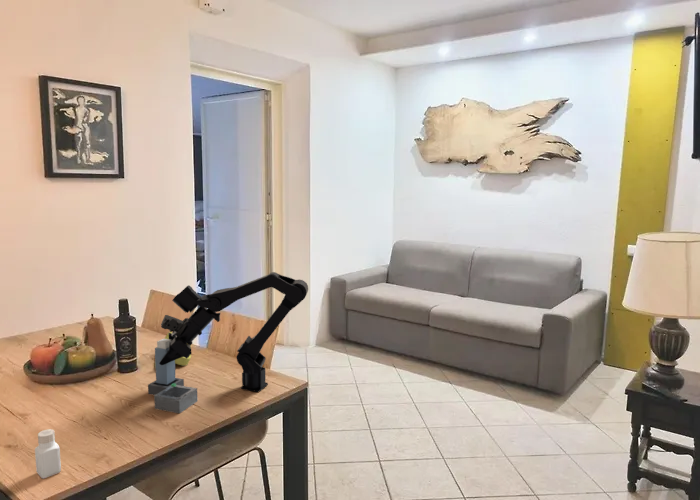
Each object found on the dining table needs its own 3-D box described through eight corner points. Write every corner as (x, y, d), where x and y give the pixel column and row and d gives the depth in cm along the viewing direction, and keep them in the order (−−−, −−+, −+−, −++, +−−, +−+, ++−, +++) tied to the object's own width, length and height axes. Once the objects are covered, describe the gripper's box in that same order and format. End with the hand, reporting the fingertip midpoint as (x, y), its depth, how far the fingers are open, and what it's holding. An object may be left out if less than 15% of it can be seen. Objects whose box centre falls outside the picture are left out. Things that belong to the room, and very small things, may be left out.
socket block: (197, 401, 148) (197, 387, 147) (179, 413, 140) (179, 398, 140) (173, 397, 151) (173, 383, 150) (154, 408, 143) (154, 394, 142)
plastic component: (190, 360, 175) (163, 350, 172) (181, 378, 176) (153, 369, 172) (191, 338, 194) (166, 329, 190) (182, 355, 194) (157, 347, 191)
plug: (175, 379, 156) (174, 339, 154) (167, 384, 152) (165, 343, 150) (164, 377, 157) (163, 337, 155) (156, 382, 153) (154, 341, 151)
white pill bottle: (41, 480, 108) (38, 439, 107) (35, 473, 111) (32, 432, 110) (62, 472, 111) (59, 432, 110) (55, 465, 114) (52, 426, 113)
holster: (183, 388, 157) (183, 379, 157) (168, 397, 150) (168, 388, 150) (164, 384, 159) (163, 375, 159) (148, 394, 152) (147, 384, 152)
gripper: (175, 299, 161) (140, 336, 159) (178, 314, 144) (138, 355, 141) (201, 321, 165) (167, 357, 163) (207, 337, 148) (168, 378, 145)
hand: (160, 361), depth 153 cm, fingers closed on plug, 6 cm apart
